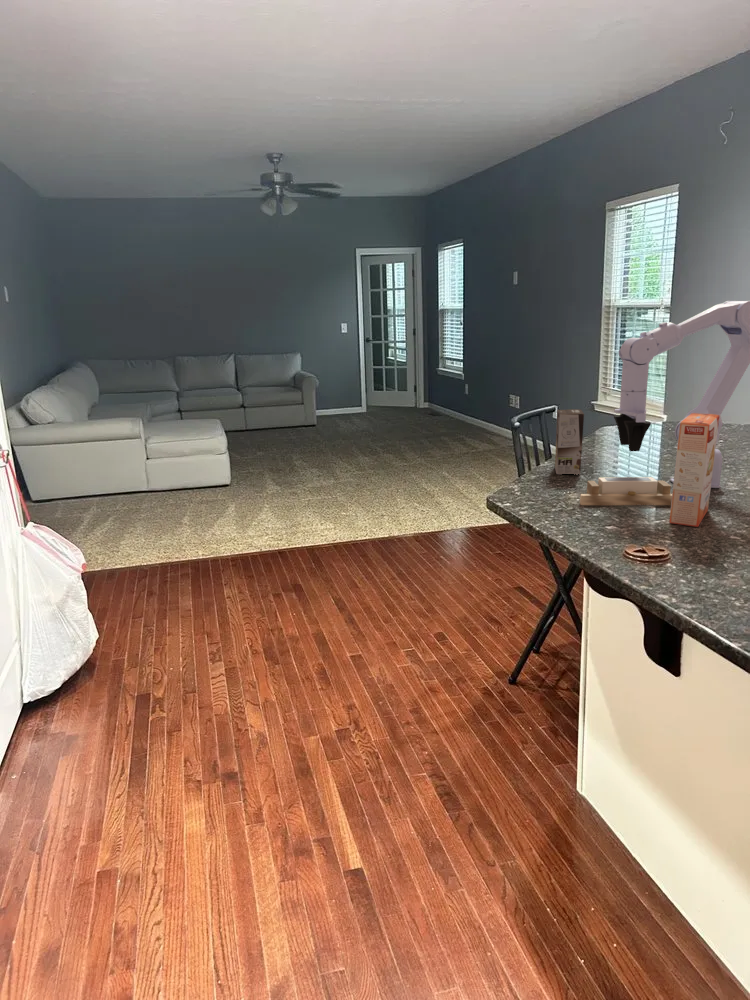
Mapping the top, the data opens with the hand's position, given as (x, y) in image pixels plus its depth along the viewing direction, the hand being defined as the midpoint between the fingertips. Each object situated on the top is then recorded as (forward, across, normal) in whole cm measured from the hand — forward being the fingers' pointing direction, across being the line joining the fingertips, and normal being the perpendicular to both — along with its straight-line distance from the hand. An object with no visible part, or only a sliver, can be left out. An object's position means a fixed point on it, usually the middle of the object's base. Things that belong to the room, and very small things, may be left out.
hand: (629, 447), depth 167 cm
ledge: (+10, +12, -3) cm, 16 cm away
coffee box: (+10, -18, -11) cm, 23 cm away
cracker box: (+10, +24, +6) cm, 27 cm away
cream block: (+10, +11, -3) cm, 15 cm away
